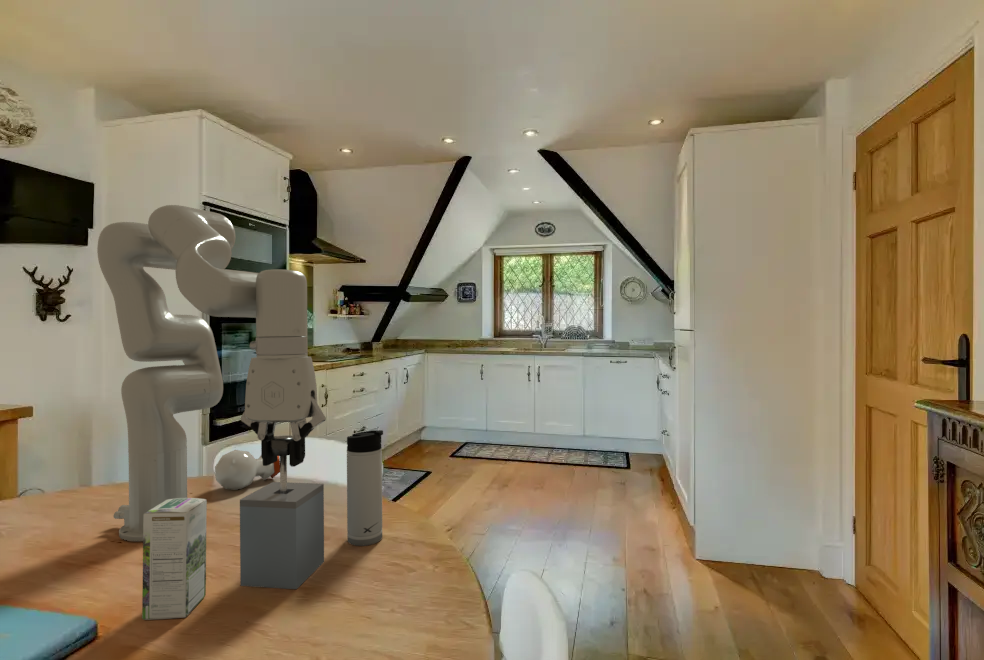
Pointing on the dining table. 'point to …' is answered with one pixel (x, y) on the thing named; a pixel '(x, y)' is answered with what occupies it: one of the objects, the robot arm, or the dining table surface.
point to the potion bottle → (242, 469)
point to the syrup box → (174, 558)
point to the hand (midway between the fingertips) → (283, 462)
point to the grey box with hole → (281, 535)
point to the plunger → (281, 457)
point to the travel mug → (364, 488)
